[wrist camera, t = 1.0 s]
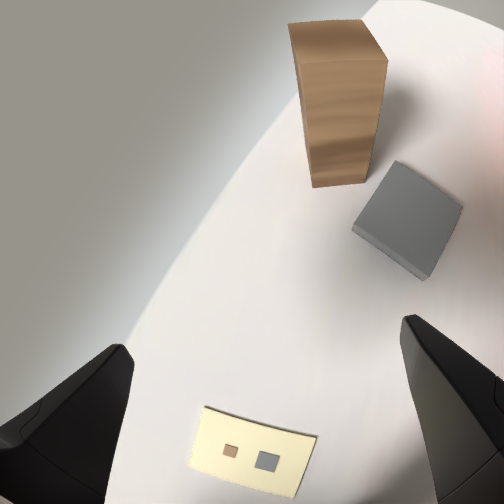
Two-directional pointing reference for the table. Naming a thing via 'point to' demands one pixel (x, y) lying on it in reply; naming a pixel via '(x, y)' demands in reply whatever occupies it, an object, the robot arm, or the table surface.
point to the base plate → (409, 220)
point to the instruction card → (250, 453)
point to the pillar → (338, 97)
